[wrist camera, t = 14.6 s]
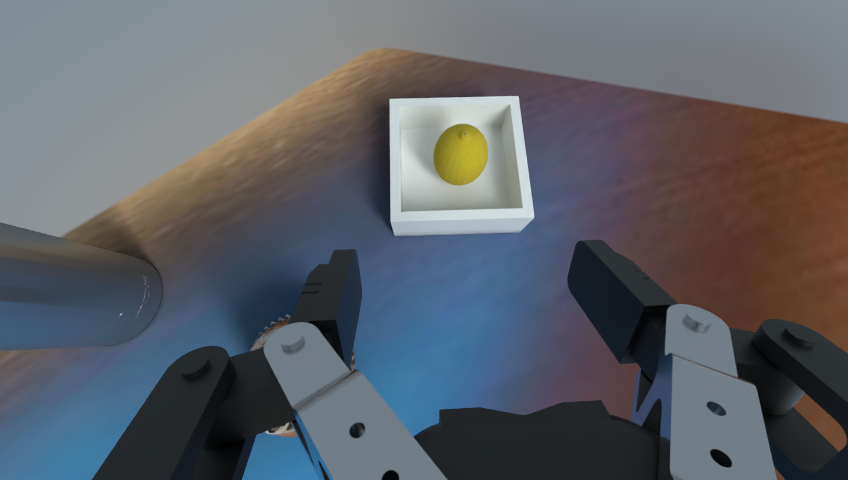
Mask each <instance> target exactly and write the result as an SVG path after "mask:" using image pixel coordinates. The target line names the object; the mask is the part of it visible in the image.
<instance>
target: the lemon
mask: <svg viewBox="0 0 848 480" xmlns="http://www.w3.org/2000/svg"><path fill="white" fill-rule="evenodd" d="M487 159H488V146H487V142H486V139H485V137H484V135H483V134H482V133H481V132H480V131H479V130H478V129H477V128H476V127H474V126H472V125H469V124H456V125H453V126H451V127H449V128H448V129H446V130H445V131H444V132H443V133H442V134H441V135H440V137H439V139H438V141H437V142H436V145H435V148H434V153H433V160H434V166H435V169H436V172H437V173H438V175H439V176H440V177H441V178H442V179H443V180H444V181H445V182H447V183H449V184H452V185H459V186H462V185H466V184H469V183H471V182H473V181H474V180H476V179H477V178H478V177H479V176H480V175H481V173H482V172H483V170H484V168H485V166H486V163H487Z"/></svg>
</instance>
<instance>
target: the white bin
mask: <svg viewBox="0 0 848 480" xmlns="http://www.w3.org/2000/svg"><path fill="white" fill-rule="evenodd" d="M456 124H469V125H472V126H474V127H476V128H477V129H478V130H479V131H480V132H481V133H482V134H483V135H484V137H485V139H486V142H487V146H488V159H487V163H486V166H485V168H484V170H483V172H482V173H481V175H480V176H479V177H478V178H477V179H476V180H474V181H473V182H471V183H469V184H466V185H462V186H459V185H452V184H449V183H447V182H445V181H444V180H443V179H442V178H441V177H440V176H439V175H438V173H437V172H436V169H435V166H434V160H433V153H434V148H435V145H436V142H437V141H438V139H439V137H440V135H441V134H442V133H443V132H444V131H445V130H446V129H448V128H449V127H451V126H453V125H456ZM390 208H391V225H392V229H393V232H394V236H415V235H447V234H480V233H513V232H520V231H521V230H522V229H523V228H524V227H525V226H526V225H527V224H528V223H529V222H530V221H531V220H532V219H533V218H534V211H533V203H532V196H531V188H530V181H529V173H528V166H527V158H526V151H525V143H524V135H523V128H522V120H521V113H520V105H519V98H518V96H498V97H454V98H409V99H390Z"/></svg>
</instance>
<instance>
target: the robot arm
mask: <svg viewBox="0 0 848 480" xmlns="http://www.w3.org/2000/svg"><path fill="white" fill-rule="evenodd" d="M568 287H569V290H570V292H571V294H572V295H573V296H574V298H575V299H576V301H577V302H578V304H579V305H580V307H581V308H582V309H583V311H584V312H585V314H586V315H587V317H588V318H589V320H590V321H591V322H592V324H593V325H594V327H595V328H596V330H597V331H598V333H599V334H600V335H601V337H602V338H603V340H604V341H605V343H606V344H607V346H608V347H609V348H610V350H611V351H612V353H613V354H614V356H615V357H616V359H617V360H618V361H619V363H620V364H627V363H637V364H638V365H639V366H640V368H639V370H638V372H637V375H636V382H635V390H634V397H633V404H632V412H631V419H630V421H629V420H626V419H624V418H620V417H617V416H614V415H609V413H608V412H607V410H606V408H605V406H604V404H603V403H602V401H601V400H598V401H580V402H563V403H559V404H557V405H554V406H551V407H548V408H545V409H542V410H540V411H537V412H534V413H531V414H528V415H518V414H512V413H507V412H502V411H496V410H491V409H486V408H480V407H478V408H461V409H444V410H439V423H438V424H435V425H433V426H430V427H428V428H426V429H424V430H422V431H421V432H419V433H418V434H417V435H415V436H414V437H413V436H412V435H411V434H410V432H409V431H408V430H407V429H406V427H405V426H404V425H403V424H402V422H401V421H400V420H399V419H398V417H397V416H396V415H395V414H394V412H393V411H392V410H391V409H390V407H389V406H388V405H387V404H386V402H385V401H384V400H383V399H382V397H381V396H380V395H379V394H378V392H377V391H376V390H375V389H374V387H373V386H372V385H371V384H370V382H369V381H368V380H367V379H366V377H365V376H364V375H363V374H362V373H361V372H360V371H359V370H354V371H353V372H351V371H350V370H349V368H350V362H351V357H352V351H353V345H354V340H355V334H356V328H357V322H358V317H359V311H360V305H361V298H362V287H361V279H360V271H359V264H358V257H357V252H356V250H355V249H346V250H334V251H333V254H332V257H331V259H330V262H329V264H319V265H318V266H317V267H316V268H315V269H314V270H313V271H312V272H311V273H310V274H309V276H308V278H307V280H306V283H305V286H304V287H303V290H302V294H300V297H299V299H298V301H297V304H296V306H295V308H294V311H293V313H292V315H291V318H290V320H289V322H288V325H286V326H284V327H282V328H280V329H278V330H277V331H275V332H274V333H273V334H272V335H271V336H270V337H269V338H268V339H267V341H266V343H265V345H264V347H261V348H259V349H256V350H253V351H249V352H246V353H243V354H239V355H236V356H232V357H229V355H228V353H227V351H226V350H225V349H223V348H221V347H218V346H207V347H202V348H198V349H196V350H193V351H191V352H189V353H187V354H185V355H183V356H182V357H180V358H179V359H177V360H176V361H175V362H174V363H173V364H172V365H171V366H170V367H169V368H168V369H167V370H166V371H165V373H164V374H163V376H162V377H161V379H160V380H159V382H158V383H157V385H156V386H155V388H154V389H153V391H152V392H151V394H150V395H149V396H148V398H147V399H146V401H145V402H144V404H143V405H142V407H141V408H140V410H139V411H138V413H137V414H136V416H135V417H134V419H133V420H132V421H131V423H130V424H129V426H128V427H127V429H126V430H125V432H124V433H123V435H122V436H121V438H120V439H119V441H118V442H117V444H116V445H115V447H114V448H113V449H112V451H111V452H110V454H109V455H108V457H107V458H106V460H105V461H104V463H103V464H102V466H101V467H100V469H99V470H98V472H97V473H96V474H95V476H94V477H93V479H92V480H242V477H243V474H244V471H245V468H246V465H247V462H248V459H249V456H250V453H251V450H252V447H253V444H254V441H255V438H256V435H257V434H260V433H262V432H265V431H268V430H270V429H273V428H276V427H278V426H281V425H284V424H287V423H289V422H291V424H292V426H293V428H294V430H295V432H296V434H297V436H298V438H299V440H300V442H301V444H302V446H303V448H304V450H305V452H306V454H307V456H308V458H309V460H310V462H311V464H312V466H313V468H314V470H315V473H316V475H317V477H318V479H319V480H777V478H776V474H775V469H774V467H775V468H776V469H777V470H778V471H779V473H780V474H781V475H782V476H783V477H784V478H785V480H848V354H847V353H846V352H845V351H843V350H842V349H840V348H839V347H838V346H836V345H835V344H833V343H832V342H831V341H829V340H828V339H826V338H825V337H823V336H822V335H820V334H819V333H817V332H815V331H813V330H811V329H809V328H807V327H804V326H802V325H799V324H796V323H793V322H790V321H785V320H780V319H769V320H765V321H764V322H763V323H762V324H761V326H760V327H759V329H758V330H757V332H751V331H745V330H739V329H733V328H728V326H727V325H726V324H725V323H724V322H723V321H722V320H721V319H720V318H718V317H717V316H716V315H714V314H712V313H710V312H708V311H706V310H704V309H701V308H698V307H695V306H691V305H686V304H678V303H677V302H676V301H675V300H674V299H673V298H672V297H671V296H669V295H668V294H667V293H666V292H665V291H664V290H663V289H662V288H661V287H660V286H659V285H657V284H656V283H655V282H654V281H653V280H652V279H650V277H649V276H648V275H647V274H646V273H644V272H642V271H641V269H640V268H639V267H638V266H637V265H636V264H635V263H634V262H632V261H631V260H629V259H628V258H626V257H624V256H622V255H620V254H618V253H616V252H614V251H613V250H612V249H611V248H610V247H609V246H608V245H607V244H606V243H605V242H604V241H602V240H586V241H579V242H577V244H576V246H575V250H574V254H573V258H572V261H571V265H570V269H569V273H568ZM161 298H162V285H161V279H160V277H159V275H158V272H157V271H156V270H155V268H154V267H153V266H152V265H151V264H149V263H148V262H147V261H145V260H142V259H140V258H137V257H133V256H129V255H125V254H121V253H118V252H114V251H110V250H106V249H102V248H99V247H95V246H91V245H87V244H83V243H79V242H75V241H71V240H67V239H63V238H59V237H55V236H51V235H47V234H43V233H39V232H35V231H31V230H28V229H24V228H20V227H16V226H12V225H8V224H4V223H0V351H11V350H30V349H50V348H72V347H90V346H108V345H115V344H119V343H122V342H125V341H127V340H129V339H131V338H133V337H134V336H136V335H137V334H139V333H140V332H141V331H142V330H143V329H144V328H145V327H146V326H147V325H148V324H149V323H150V322H151V320H152V319H153V317H154V316H155V314H156V312H157V310H158V308H159V305H160V301H161ZM805 393H806V394H807V395H808V396H809V397H811V398H812V399H813V400H814V401H815V402H816V403H817V404H818V405H819V406H821V407H822V408H823V409H824V410H825V411H826V412H827V413H828V414H829V415H831V416H832V417H833V418H834V419H835V420H836V421H837V422H838V423H839V424H840V425H841V426H842V428H843V429H844V431H845V433H846V436H847V444H846V446H845V447H844V448H843V449H842V450H841V451H840V452H839V451H838V450H837V449H836V448H835V447H833V446H832V445H831V444H830V443H829V442H828V441H827V440H826V439H825V438H824V437H823V436H822V435H821V434H820V433H819V432H818V431H817V430H816V429H815V428H814V427H813V426H812V425H811V424H810V423H809V422H808V421H807V420H806V419H805V418H804V417H803V416H802V415H801V414H800V413H798V412H797V411H796V410H795V409H794V408H793V406H794V405H795V404H796V403H797V402H798V400H799V399H800V398H801V397H802V396H803V395H804V394H805Z"/></svg>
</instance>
